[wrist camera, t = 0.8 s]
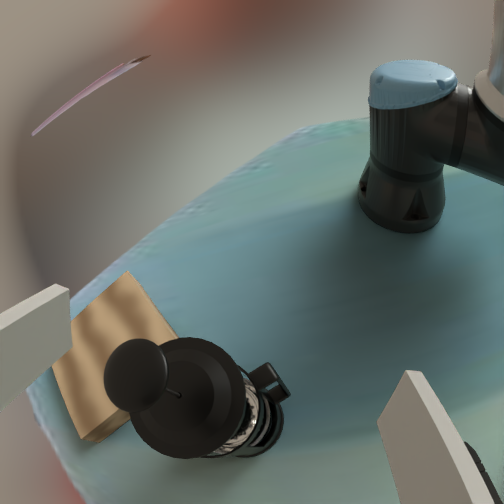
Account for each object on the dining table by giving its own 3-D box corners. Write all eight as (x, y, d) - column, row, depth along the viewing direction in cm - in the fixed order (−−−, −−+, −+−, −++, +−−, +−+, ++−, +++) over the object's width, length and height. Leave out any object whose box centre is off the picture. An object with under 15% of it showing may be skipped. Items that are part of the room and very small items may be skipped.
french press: (224, 472, 28) (85, 483, 10) (189, 408, 33) (51, 343, 16) (312, 424, 29) (287, 391, 12) (270, 362, 35) (198, 250, 17)
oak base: (139, 283, 48) (127, 270, 44) (198, 362, 37) (185, 352, 34) (61, 354, 42) (45, 345, 39) (99, 442, 32) (81, 439, 29)
